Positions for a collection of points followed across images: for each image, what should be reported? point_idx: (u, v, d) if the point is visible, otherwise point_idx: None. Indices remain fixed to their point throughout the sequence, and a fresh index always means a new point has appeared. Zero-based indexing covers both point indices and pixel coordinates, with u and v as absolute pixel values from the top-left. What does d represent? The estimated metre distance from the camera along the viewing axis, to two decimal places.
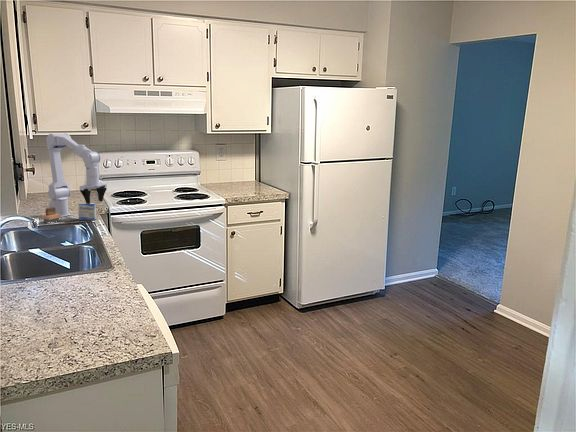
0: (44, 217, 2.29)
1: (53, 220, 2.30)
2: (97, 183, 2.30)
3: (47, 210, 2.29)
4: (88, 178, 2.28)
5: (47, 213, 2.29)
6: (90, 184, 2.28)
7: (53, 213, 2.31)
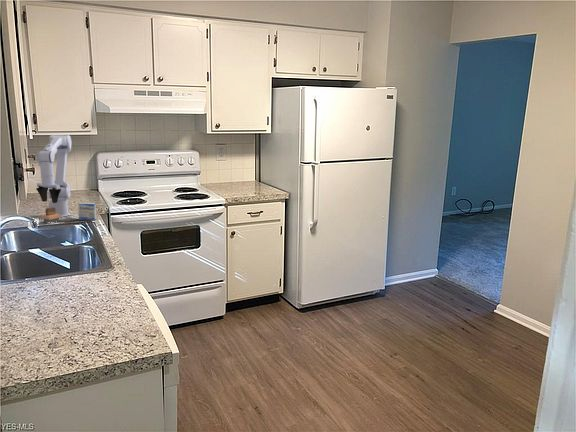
0: (44, 217, 2.29)
1: (53, 220, 2.30)
2: (43, 183, 2.25)
3: (47, 210, 2.29)
4: None
5: (47, 213, 2.29)
6: None
7: (53, 213, 2.31)
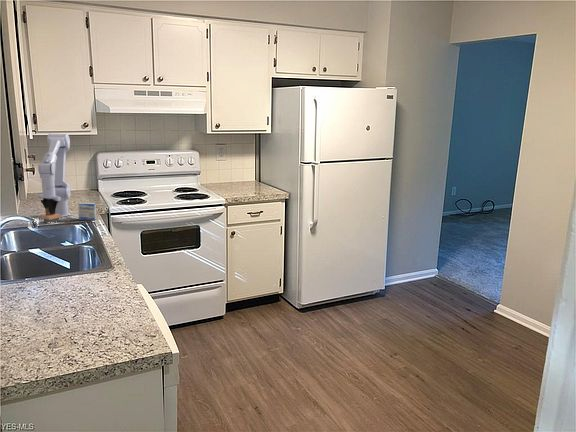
0: (44, 217, 2.29)
1: (53, 220, 2.30)
2: (44, 194, 2.26)
3: (47, 210, 2.29)
4: None
5: (47, 213, 2.29)
6: None
7: None
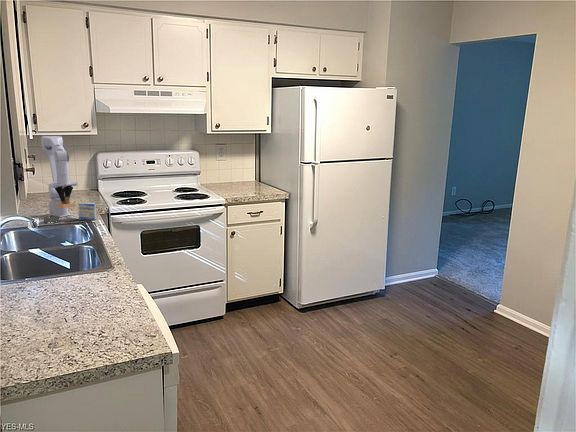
0: (68, 206, 2.31)
1: (53, 220, 2.30)
2: (67, 181, 2.30)
3: (68, 198, 2.32)
4: (58, 176, 2.28)
5: (68, 201, 2.32)
6: (60, 182, 2.29)
7: None
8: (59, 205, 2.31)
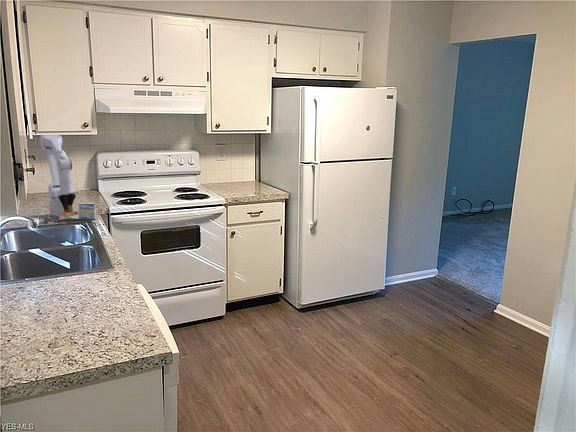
0: (71, 214, 2.34)
1: (53, 220, 2.30)
2: (70, 190, 2.32)
3: (71, 207, 2.34)
4: (61, 185, 2.30)
5: (71, 210, 2.35)
6: (63, 191, 2.30)
7: None
8: (62, 214, 2.33)
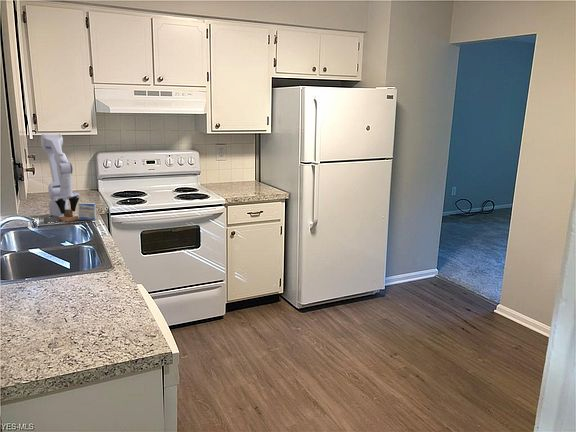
0: (71, 219, 2.34)
1: (53, 220, 2.30)
2: (71, 193, 2.33)
3: (71, 211, 2.35)
4: (61, 188, 2.30)
5: (71, 214, 2.35)
6: (64, 194, 2.31)
7: None
8: (62, 218, 2.34)
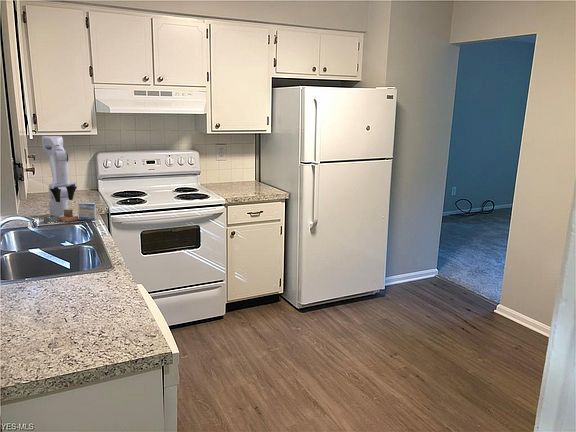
0: (71, 219, 2.34)
1: (53, 220, 2.30)
2: (67, 181, 2.31)
3: (71, 211, 2.35)
4: (58, 176, 2.28)
5: (71, 214, 2.35)
6: (60, 182, 2.29)
7: None
8: (62, 218, 2.34)
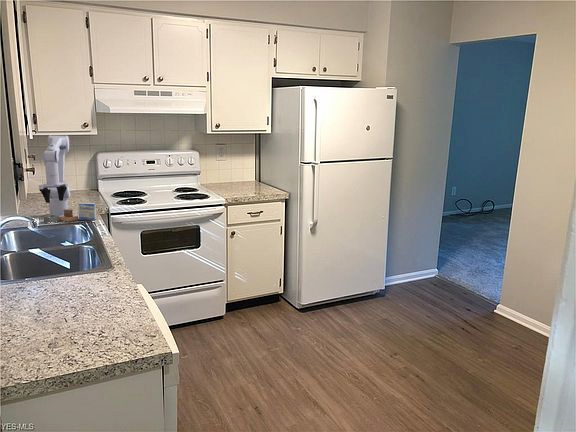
0: (71, 219, 2.34)
1: (53, 220, 2.30)
2: (57, 182, 2.28)
3: (71, 211, 2.35)
4: (47, 177, 2.26)
5: (71, 214, 2.35)
6: (50, 183, 2.26)
7: None
8: (62, 218, 2.34)
